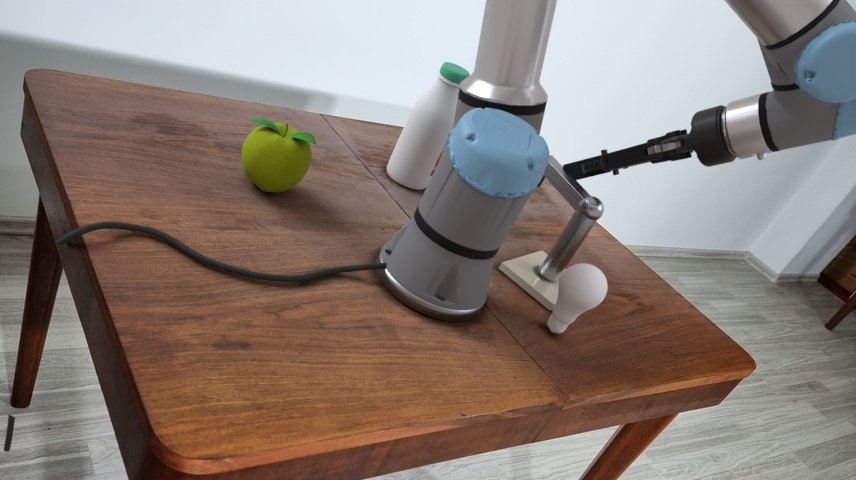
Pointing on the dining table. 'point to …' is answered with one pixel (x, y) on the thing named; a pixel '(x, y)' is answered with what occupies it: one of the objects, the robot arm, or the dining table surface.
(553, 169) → the spout
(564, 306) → the lightbulb
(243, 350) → the dining table surface
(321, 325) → the dining table surface
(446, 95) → the milk bottle
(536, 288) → the faucet stand
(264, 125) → the fruit
